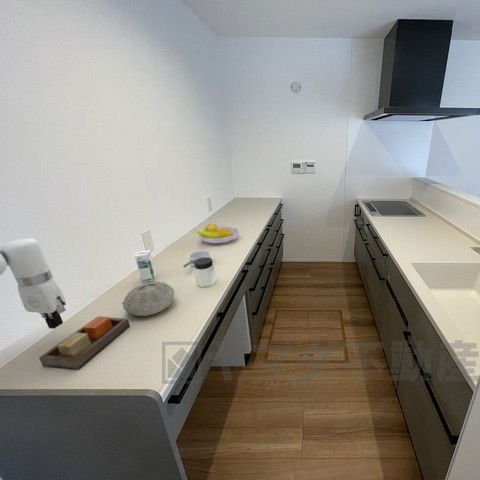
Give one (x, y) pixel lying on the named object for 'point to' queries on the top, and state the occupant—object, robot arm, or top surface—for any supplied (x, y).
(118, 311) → the top surface
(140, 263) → the syrup box
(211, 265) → the jar
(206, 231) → the fruit bowl
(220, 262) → the top surface
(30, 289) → the robot arm
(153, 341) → the top surface
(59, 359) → the soap bar tray
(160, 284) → the grey rounded stone
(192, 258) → the saucepan
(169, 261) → the top surface
